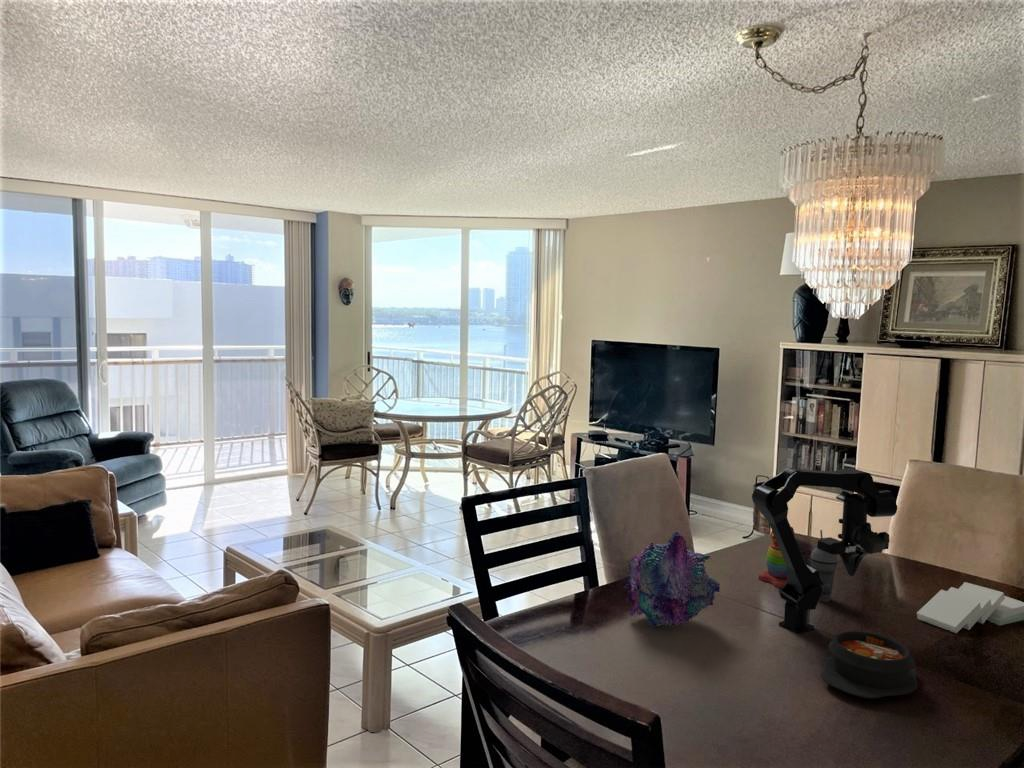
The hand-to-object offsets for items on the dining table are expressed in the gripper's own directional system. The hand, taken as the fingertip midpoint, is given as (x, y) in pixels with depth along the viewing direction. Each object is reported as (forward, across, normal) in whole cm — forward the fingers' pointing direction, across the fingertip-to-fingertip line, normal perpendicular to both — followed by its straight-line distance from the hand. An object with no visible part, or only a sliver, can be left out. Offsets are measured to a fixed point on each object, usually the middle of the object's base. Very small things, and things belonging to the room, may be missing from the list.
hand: (851, 575), depth 185 cm
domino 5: (+13, +38, -8) cm, 41 cm away
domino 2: (+12, +26, -8) cm, 30 cm away
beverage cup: (+13, +6, +16) cm, 22 cm away
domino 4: (+11, +40, -7) cm, 42 cm away
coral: (+13, -46, +14) cm, 50 cm away
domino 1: (+12, +21, -8) cm, 26 cm away
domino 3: (+12, +33, -6) cm, 35 cm away
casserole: (+13, -20, -26) cm, 35 cm away
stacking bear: (+13, +4, +31) cm, 34 cm away
